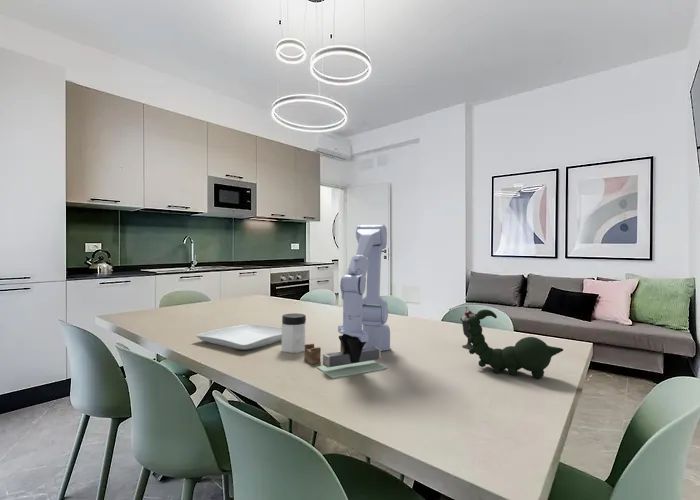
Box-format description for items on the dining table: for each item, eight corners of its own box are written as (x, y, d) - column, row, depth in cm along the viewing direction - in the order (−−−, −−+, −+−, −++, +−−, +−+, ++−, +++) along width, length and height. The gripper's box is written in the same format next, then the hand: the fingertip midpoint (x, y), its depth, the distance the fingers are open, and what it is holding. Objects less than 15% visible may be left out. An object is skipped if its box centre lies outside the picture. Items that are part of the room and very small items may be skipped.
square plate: (298, 339, 144) (298, 329, 144) (244, 355, 121) (244, 344, 121) (250, 330, 159) (250, 321, 159) (193, 343, 136) (193, 333, 136)
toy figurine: (467, 375, 108) (565, 386, 95) (462, 311, 109) (558, 312, 96) (475, 367, 116) (566, 375, 103) (470, 307, 117) (560, 307, 104)
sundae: (458, 348, 132) (459, 306, 132) (460, 344, 138) (461, 304, 138) (478, 350, 130) (478, 308, 130) (479, 346, 136) (479, 305, 136)
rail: (375, 356, 114) (375, 346, 114) (380, 359, 112) (380, 349, 112) (322, 364, 105) (323, 354, 105) (327, 367, 103) (327, 356, 103)
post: (313, 358, 118) (313, 343, 118) (320, 362, 114) (320, 347, 114) (304, 359, 117) (304, 344, 117) (311, 364, 112) (311, 348, 112)
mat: (368, 359, 117) (368, 358, 117) (386, 368, 109) (386, 367, 109) (317, 368, 108) (317, 366, 108) (332, 378, 100) (332, 377, 100)
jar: (286, 354, 122) (286, 318, 122) (277, 348, 129) (277, 314, 129) (310, 350, 127) (310, 316, 127) (300, 345, 134) (300, 312, 134)
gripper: (329, 312, 113) (329, 356, 113) (353, 320, 100) (352, 370, 100) (349, 310, 116) (349, 353, 116) (374, 318, 104) (374, 366, 104)
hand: (352, 361), depth 109 cm, fingers closed on rail, 3 cm apart
